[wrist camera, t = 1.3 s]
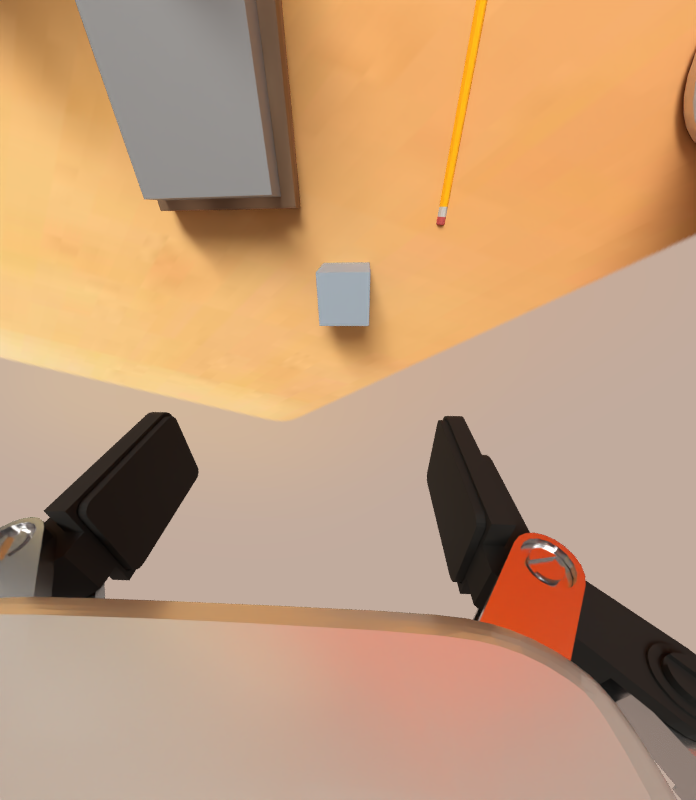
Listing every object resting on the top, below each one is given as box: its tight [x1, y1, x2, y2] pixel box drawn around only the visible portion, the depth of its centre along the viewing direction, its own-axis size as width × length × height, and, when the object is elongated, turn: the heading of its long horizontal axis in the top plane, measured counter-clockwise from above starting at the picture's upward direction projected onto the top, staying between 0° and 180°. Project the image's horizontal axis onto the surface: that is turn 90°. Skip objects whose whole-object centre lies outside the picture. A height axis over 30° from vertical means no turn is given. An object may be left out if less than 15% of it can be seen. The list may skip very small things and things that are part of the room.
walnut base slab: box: [158, 0, 300, 211], centre depth 24 cm, size 13×13×3 cm
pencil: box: [436, 0, 487, 225], centre depth 23 cm, size 1×18×1 cm, turn 179°
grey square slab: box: [75, 0, 281, 200], centre depth 22 cm, size 11×11×3 cm
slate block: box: [316, 263, 370, 326], centre depth 30 cm, size 5×5×6 cm
